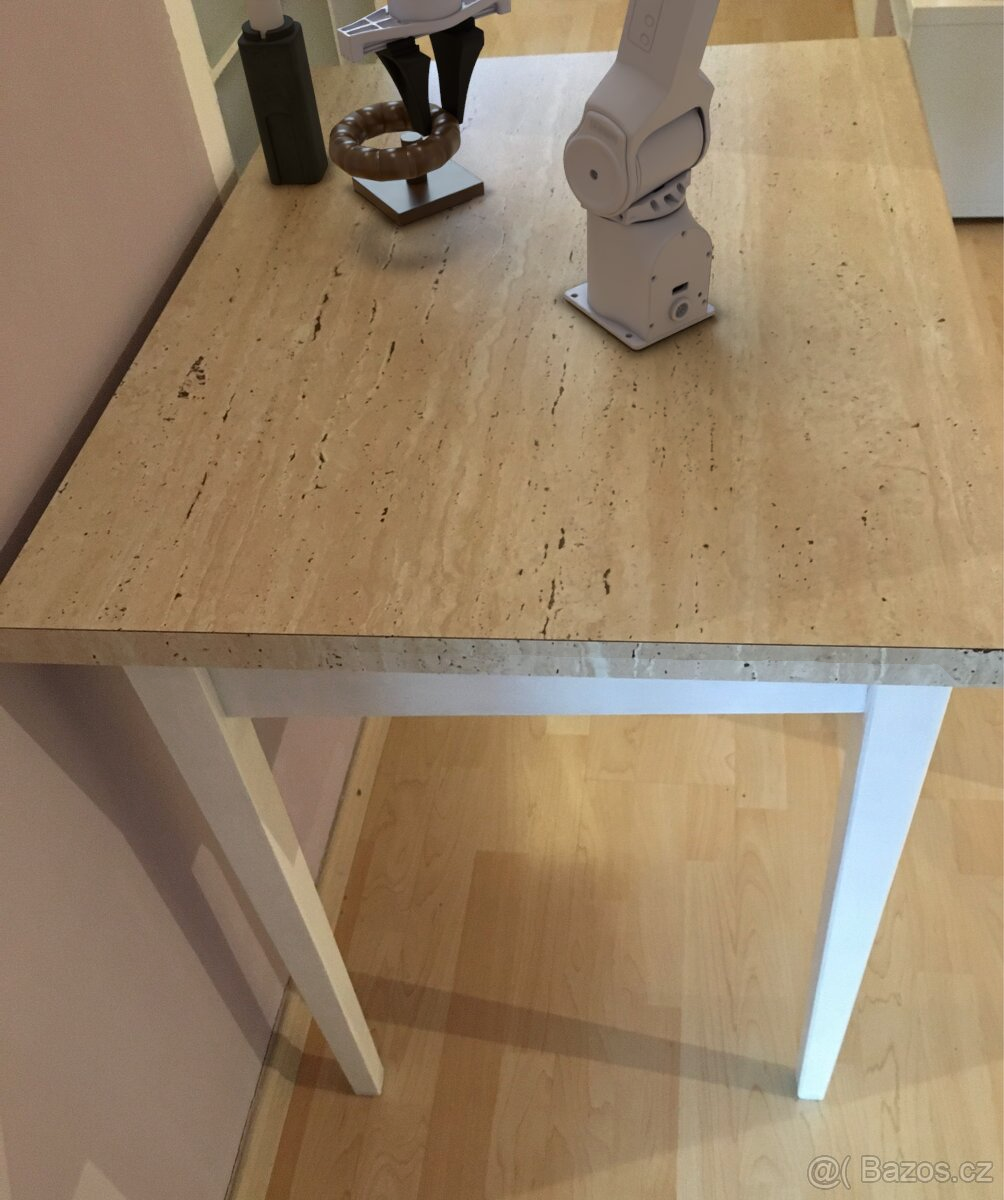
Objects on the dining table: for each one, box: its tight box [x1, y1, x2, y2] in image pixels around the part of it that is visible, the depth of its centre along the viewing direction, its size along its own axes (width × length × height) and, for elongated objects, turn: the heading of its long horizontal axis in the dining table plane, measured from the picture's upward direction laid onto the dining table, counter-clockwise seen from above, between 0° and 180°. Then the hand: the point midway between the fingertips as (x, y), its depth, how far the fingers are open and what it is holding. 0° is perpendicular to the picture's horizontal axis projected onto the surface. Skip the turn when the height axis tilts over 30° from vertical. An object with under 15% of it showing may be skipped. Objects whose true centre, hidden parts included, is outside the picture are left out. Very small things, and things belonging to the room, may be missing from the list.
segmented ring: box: [328, 99, 462, 182], centre depth 86 cm, size 11×11×2 cm
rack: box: [351, 131, 485, 227], centre depth 96 cm, size 9×9×5 cm
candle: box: [236, 0, 329, 185], centre depth 93 cm, size 5×5×25 cm
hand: (438, 126), depth 88 cm, fingers closed on segmented ring, 2 cm apart
